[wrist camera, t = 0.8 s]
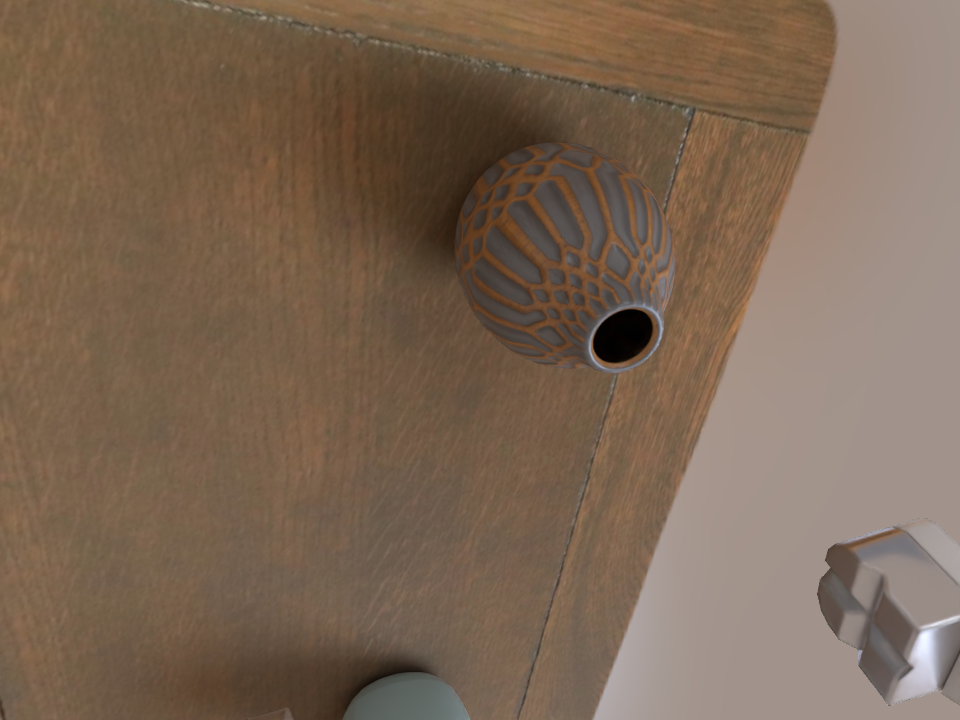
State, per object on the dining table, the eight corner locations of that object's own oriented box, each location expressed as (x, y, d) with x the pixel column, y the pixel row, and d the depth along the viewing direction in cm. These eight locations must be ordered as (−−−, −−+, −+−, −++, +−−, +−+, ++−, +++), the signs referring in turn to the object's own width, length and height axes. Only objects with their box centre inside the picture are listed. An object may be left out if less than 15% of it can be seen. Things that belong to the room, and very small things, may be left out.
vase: (536, 320, 31) (624, 464, 24) (399, 240, 27) (454, 381, 20) (651, 184, 28) (784, 299, 22) (517, 76, 25) (625, 172, 18)
